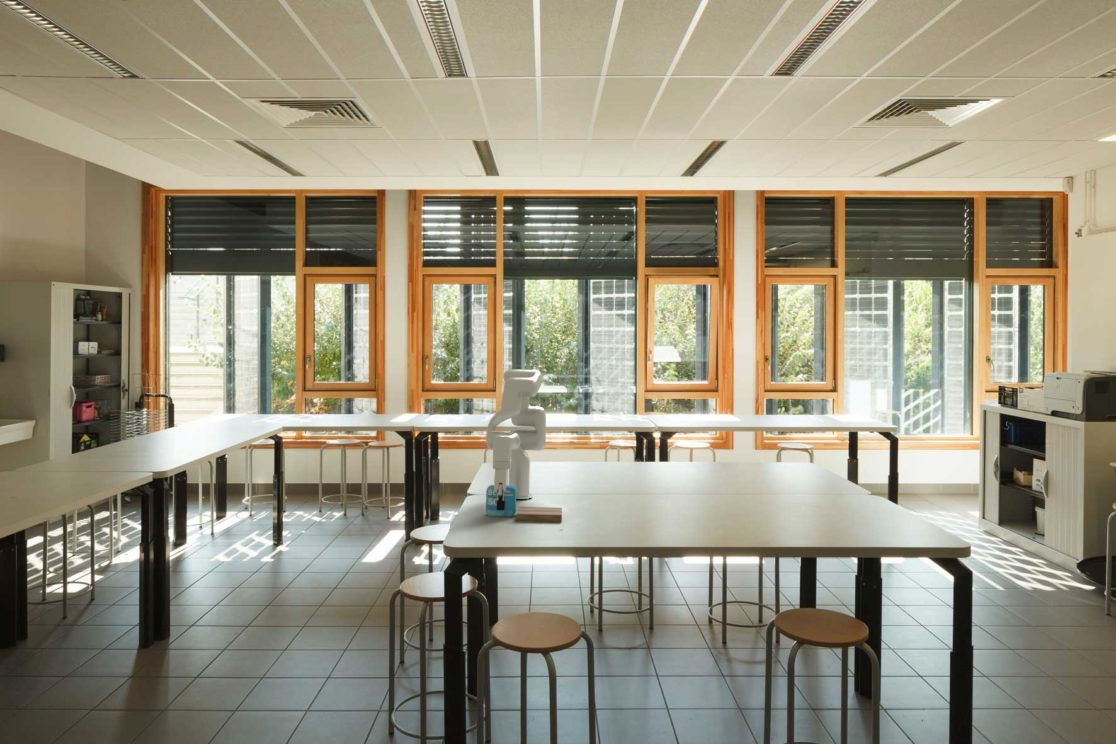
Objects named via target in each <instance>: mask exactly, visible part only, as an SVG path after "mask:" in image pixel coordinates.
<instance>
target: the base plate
mask: <svg viewBox="0 0 1116 744" xmlns="http://www.w3.org/2000/svg"><path fill="white" fill-rule="evenodd" d="M562 511H563V508H562V507H547V506H545V507H542V506H541V507H540V506H538V507H537V506H536V507H535V506H518V507H517V509H516V513H515V514H516V518H515V520H516V521H534V522H533V523H557V522H562V523H563V521H562V519H563V514H562V513H563V512H562ZM516 521H515V522H516Z"/></svg>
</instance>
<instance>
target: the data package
mask: <svg viewBox="0 0 1116 744" xmlns="http://www.w3.org/2000/svg"><path fill="white" fill-rule="evenodd" d="M485 492H486V494H485V498H486V499H485V514H486V515H487V516H488V517H506V516H512V517H514V516H515V514H517V500H516V487H515V486H509V485H507V488H506V493H504V501H505V510H497V492H498V490H497V492H495V493H494V484H491V485H489V486H487V488H486V491H485ZM502 493H503V492H502Z"/></svg>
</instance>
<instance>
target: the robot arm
mask: <svg viewBox="0 0 1116 744" xmlns="http://www.w3.org/2000/svg"><path fill="white" fill-rule="evenodd" d="M503 381H504V383H503V389H502V395H501V397H502V398H501V402H500V403H501V404H500V409H499V410H498V411H497V412H495V414H493V416H492V417H491V419H490V420H489V421H488V422H489V423H488V424H487V428H486V436H485V445H486V447H487V449H489V450H491V451H492V469H494V479H493V480H494V481H493V482H494V483H493V485H494V493H495V492H497V490H498V492H497V510H505V501H504V493H506V488H507V486H515V487H516V499H527V500H530V499H529V498H531V499H533V494H531V493H530V481H531V480H530V478H531V477H530V476H531V475H530V474H531V471H530V468H531V465H530V464H531V461H530V459H531V458H530V457H529V455H528V453H526V451H538V452H539V451H542V450H544V449H545V447H546V443H547V442H546V440H547V439H546V438H547V432H546V431H547V424H546V423H547V416H546V410H545V408H543V407H541V406H537V405H531V404H530V403H531V402H530V398H534V397H535V396H537V394H538V392H539V390H540V389H541V386H542V383H543V375H542V373H541V371H540V370H538V369H513V368H511V369H507V370H505V371H504V373H503ZM509 419H510V421H511V424H512V426H516V427H522V429H521V428H516V429H512V430H510V431H509V432H507V431H506V432H505V431H496V429H497V427H498V425H500V424H502V423H503V422H505V421H507V420H509ZM523 427H525V428H527V427H528V428H534V429H528V428H527V429H525V428H523ZM502 492H503V493H502Z"/></svg>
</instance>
